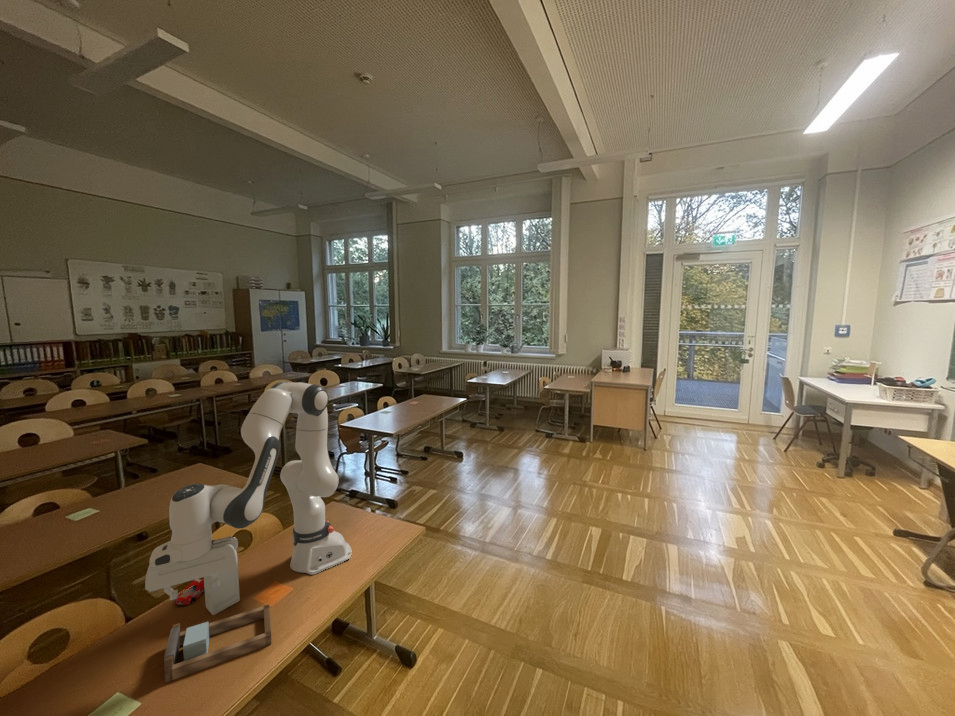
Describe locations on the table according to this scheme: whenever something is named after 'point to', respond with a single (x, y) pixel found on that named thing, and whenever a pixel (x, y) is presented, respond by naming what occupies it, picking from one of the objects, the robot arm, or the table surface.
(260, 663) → the table surface
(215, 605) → the skincare box
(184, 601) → the race car
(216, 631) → the bay
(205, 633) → the grey boxy piece
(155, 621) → the table surface
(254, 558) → the table surface
